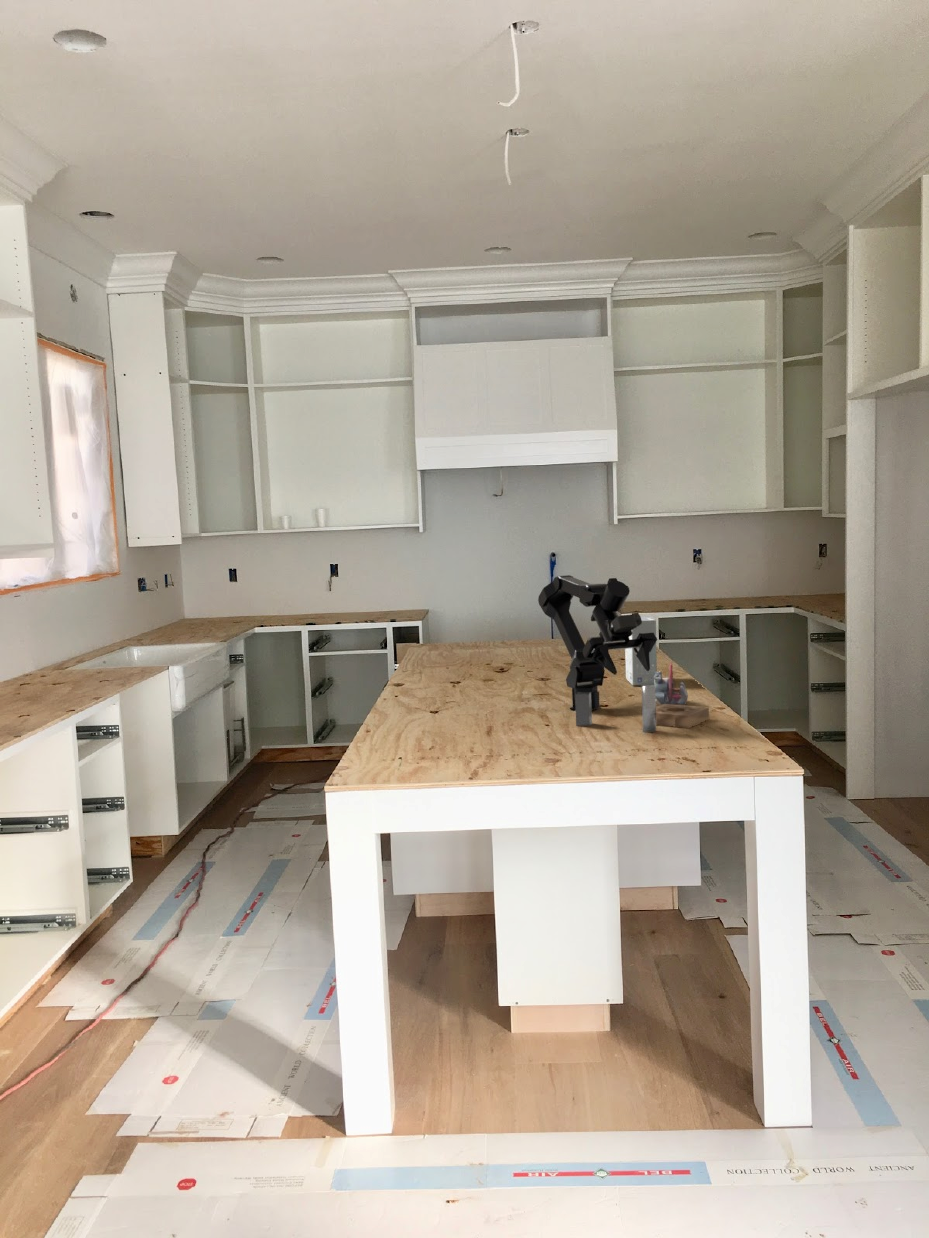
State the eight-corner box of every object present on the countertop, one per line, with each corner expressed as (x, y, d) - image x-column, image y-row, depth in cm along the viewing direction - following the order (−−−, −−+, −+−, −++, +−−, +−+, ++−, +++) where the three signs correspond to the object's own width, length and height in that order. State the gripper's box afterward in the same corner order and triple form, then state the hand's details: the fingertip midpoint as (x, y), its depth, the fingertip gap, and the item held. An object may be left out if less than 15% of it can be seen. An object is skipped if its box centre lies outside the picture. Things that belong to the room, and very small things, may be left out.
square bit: (576, 725, 248) (575, 694, 247) (578, 723, 251) (577, 691, 250) (589, 726, 247) (588, 694, 246) (591, 723, 250) (591, 692, 249)
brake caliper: (696, 698, 264) (667, 663, 265) (663, 723, 267) (635, 688, 268) (697, 691, 275) (669, 657, 276) (665, 714, 278) (638, 681, 279)
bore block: (643, 723, 247) (643, 711, 247) (664, 715, 256) (664, 703, 256) (688, 728, 240) (688, 715, 239) (709, 719, 249) (708, 707, 249)
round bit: (640, 731, 238) (639, 686, 237) (646, 729, 240) (645, 684, 239) (652, 733, 236) (651, 687, 235) (658, 730, 239) (657, 685, 237)
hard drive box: (657, 685, 301) (656, 620, 299) (632, 686, 301) (630, 621, 299) (649, 677, 316) (647, 615, 314) (625, 678, 316) (623, 616, 315)
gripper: (586, 605, 244) (609, 654, 235) (652, 600, 250) (677, 648, 241) (573, 634, 252) (594, 683, 243) (637, 628, 259) (660, 675, 249)
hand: (632, 671), depth 244 cm, fingers open, 9 cm apart
